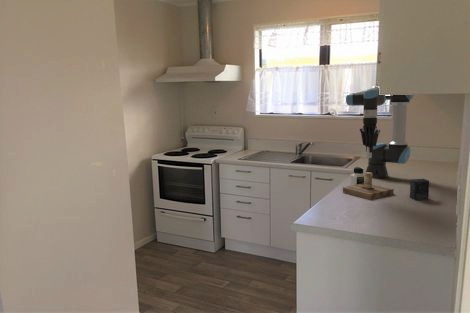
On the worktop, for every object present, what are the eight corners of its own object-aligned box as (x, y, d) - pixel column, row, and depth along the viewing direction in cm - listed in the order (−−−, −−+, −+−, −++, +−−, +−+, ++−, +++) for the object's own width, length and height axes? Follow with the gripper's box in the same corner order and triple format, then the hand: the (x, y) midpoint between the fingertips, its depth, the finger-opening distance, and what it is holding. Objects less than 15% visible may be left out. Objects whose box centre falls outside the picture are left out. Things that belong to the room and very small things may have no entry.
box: (422, 196, 217) (423, 178, 215) (428, 199, 211) (429, 180, 210) (409, 197, 216) (410, 179, 215) (414, 200, 211) (415, 181, 209)
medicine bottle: (356, 188, 241) (357, 169, 239) (350, 185, 247) (350, 167, 246) (366, 187, 242) (367, 168, 241) (360, 184, 249) (360, 166, 247)
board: (365, 187, 241) (365, 182, 241) (393, 194, 224) (393, 189, 224) (342, 192, 231) (342, 187, 231) (369, 199, 214) (370, 194, 214)
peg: (367, 191, 231) (367, 172, 229) (373, 193, 227) (374, 173, 225) (362, 192, 228) (362, 173, 227) (368, 194, 225) (368, 174, 223)
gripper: (356, 117, 224) (355, 157, 228) (375, 118, 213) (373, 160, 217) (365, 116, 228) (364, 155, 232) (384, 117, 217) (382, 158, 221)
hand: (369, 157), depth 225 cm, fingers closed
